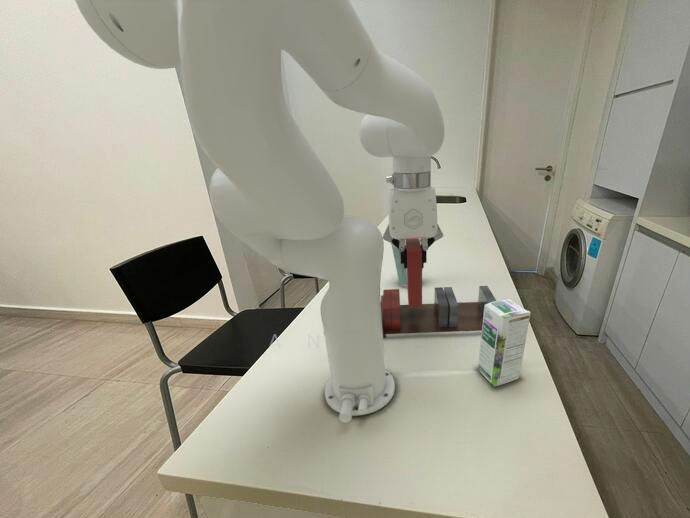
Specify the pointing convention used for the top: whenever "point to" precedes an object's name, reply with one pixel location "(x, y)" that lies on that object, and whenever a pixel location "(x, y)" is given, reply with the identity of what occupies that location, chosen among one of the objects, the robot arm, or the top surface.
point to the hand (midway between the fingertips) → (413, 265)
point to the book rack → (433, 313)
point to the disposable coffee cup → (400, 267)
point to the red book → (414, 272)
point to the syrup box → (502, 341)
